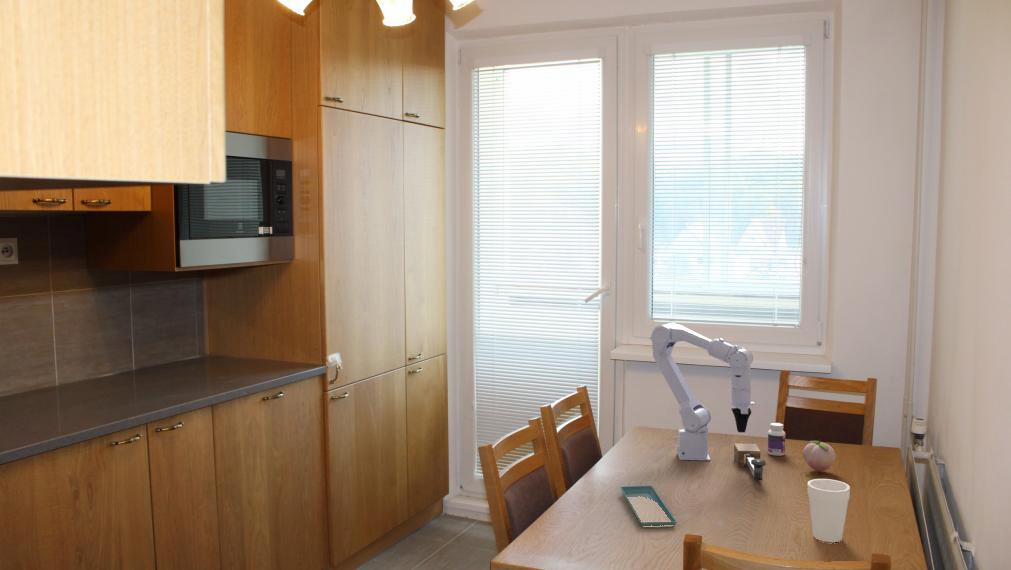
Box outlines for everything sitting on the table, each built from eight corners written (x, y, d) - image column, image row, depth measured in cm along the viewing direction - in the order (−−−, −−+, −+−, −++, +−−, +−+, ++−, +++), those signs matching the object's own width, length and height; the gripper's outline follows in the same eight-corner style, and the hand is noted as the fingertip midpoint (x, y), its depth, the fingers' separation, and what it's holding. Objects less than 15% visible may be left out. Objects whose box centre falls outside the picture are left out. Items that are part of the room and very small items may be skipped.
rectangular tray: (677, 529, 202) (677, 520, 202) (640, 531, 201) (640, 521, 201) (652, 494, 228) (652, 485, 228) (620, 495, 227) (620, 486, 227)
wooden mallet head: (738, 466, 250) (738, 450, 250) (734, 458, 258) (734, 443, 258) (760, 467, 249) (760, 451, 249) (755, 459, 257) (755, 444, 257)
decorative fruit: (841, 474, 242) (842, 441, 241) (820, 478, 239) (820, 444, 238) (818, 465, 250) (819, 433, 249) (797, 469, 247) (798, 436, 246)
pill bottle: (786, 456, 260) (786, 426, 259) (768, 455, 261) (769, 426, 260) (783, 451, 265) (784, 422, 265) (766, 451, 266) (767, 421, 266)
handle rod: (752, 481, 233) (752, 462, 233) (742, 463, 250) (742, 445, 250) (766, 481, 233) (766, 463, 232) (755, 463, 250) (755, 445, 250)
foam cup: (799, 531, 199) (800, 479, 198) (836, 529, 199) (837, 477, 198) (817, 547, 189) (818, 492, 188) (856, 545, 190) (857, 490, 189)
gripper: (758, 393, 243) (758, 438, 244) (750, 383, 257) (751, 426, 258) (734, 393, 244) (734, 437, 245) (727, 383, 258) (728, 426, 259)
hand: (741, 431), depth 251 cm, fingers closed
